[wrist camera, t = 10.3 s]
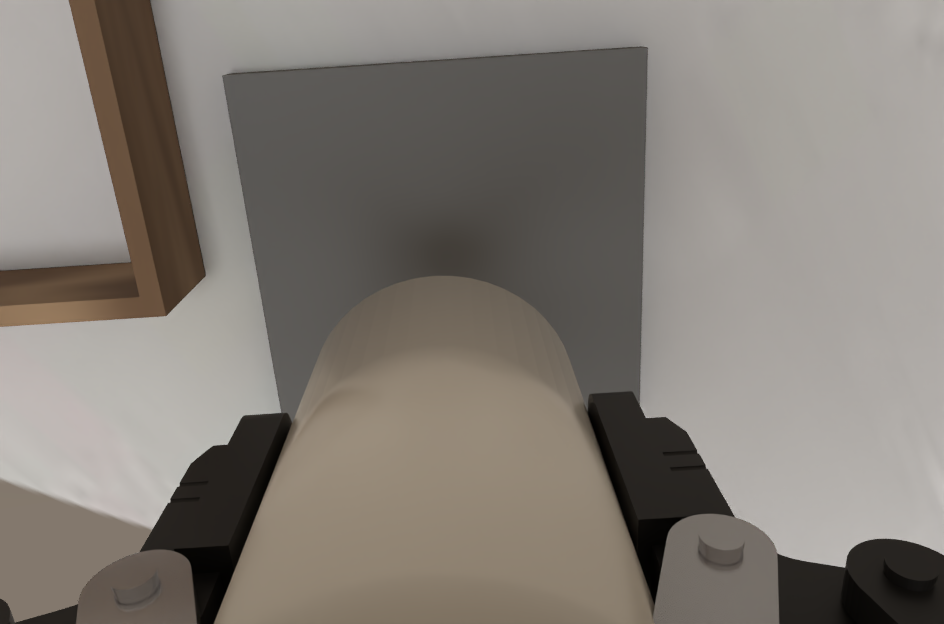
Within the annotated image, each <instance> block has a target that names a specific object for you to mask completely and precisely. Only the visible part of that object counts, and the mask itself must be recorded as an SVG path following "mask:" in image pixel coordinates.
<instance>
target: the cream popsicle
mask: <svg viewBox="0 0 944 624" xmlns="http://www.w3.org/2000/svg"><path fill="white" fill-rule="evenodd" d="M654 608H655V605H654V602H653V599H652V596H651V594H650V591H649V588H648V585H647V582H646V579H645V576H644V573H643V570H642V568H641V565H640V562H639V559H638V556H637V553H636V550H635V547H634V544H633V542H632V539H631V536H630V533H629V530H628V527H627V524H626V521H625V518H624V515H623V513H622V510H621V507H620V504H619V501H618V498H617V495H616V492H615V489H614V487H613V484H612V481H611V478H610V475H609V472H608V469H607V466H606V463H605V461H604V458H603V455H602V452H601V449H600V446H599V443H598V440H597V437H596V435H595V432H594V429H593V426H592V423H591V420H590V417H589V414H588V411H587V409H586V406H585V403H584V400H583V397H582V394H581V391H580V388H579V385H578V383H577V380H576V377H575V374H574V371H573V368H572V365H571V362H570V360H569V357H568V355H567V352H566V350H565V347H564V345H563V343H562V342H561V340H560V338H559V336H558V335H557V333H556V331H555V330H554V329H553V328H552V326H551V325H550V324H549V323H548V321H547V320H546V319H545V318H544V317H543V316H542V315H541V314H540V313H539V312H538V311H537V310H536V309H535V308H534V307H532V306H531V305H530V304H528V303H527V302H525V301H524V300H523V299H521V298H520V297H518V296H516V295H515V294H513V293H511V292H509V291H507V290H505V289H503V288H501V287H498V286H496V285H493V284H490V283H488V282H484V281H480V280H476V279H472V278H466V277H457V276H429V277H421V278H415V279H411V280H407V281H403V282H399V283H396V284H394V285H391V286H389V287H386V288H384V289H381V290H379V291H378V292H376V293H374V294H372V295H370V296H369V297H367V298H365V299H364V300H363V301H361V302H360V303H359V304H357V305H356V306H355V307H353V308H352V309H351V310H350V311H349V312H348V313H347V314H346V315H345V316H344V317H343V318H342V319H341V320H340V321H339V322H338V324H337V325H336V326H335V327H334V329H333V330H332V331H331V333H330V334H329V336H328V338H327V340H326V341H325V343H324V345H323V347H322V349H321V351H320V354H319V357H318V359H317V362H316V364H315V367H314V369H313V372H312V374H311V377H310V379H309V382H308V385H307V387H306V390H305V392H304V395H303V397H302V400H301V402H300V405H299V408H298V410H297V413H296V415H295V418H294V420H293V423H292V425H291V428H290V431H289V433H288V436H287V438H286V441H285V443H284V446H283V448H282V451H281V453H280V456H279V459H278V461H277V464H276V466H275V469H274V471H273V474H272V476H271V479H270V482H269V484H268V487H267V489H266V492H265V494H264V497H263V499H262V502H261V505H260V507H259V510H258V512H257V515H256V517H255V520H254V522H253V525H252V527H251V530H250V533H249V535H248V538H247V540H246V543H245V545H244V548H243V550H242V553H241V556H240V558H239V561H238V563H237V566H236V568H235V571H234V573H233V576H232V578H231V581H230V584H229V586H228V589H227V591H226V594H225V596H224V599H223V601H222V604H221V607H220V609H219V612H218V614H217V617H216V619H215V622H214V624H655V623H654V620H653V614H654Z"/></svg>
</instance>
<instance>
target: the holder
mask: <svg viewBox="0 0 944 624" xmlns="http://www.w3.org/2000/svg"><path fill="white" fill-rule="evenodd" d="M69 3H70V7H71V12H72V16H73V20H74V24H75V28H76V33H77V37H78V41H79V45H80V49H81V53H82V58H83V62H84V66H85V70H86V74H87V79H88V83H89V87H90V91H91V95H92V99H93V104H94V108H95V112H96V116H97V120H98V125H99V129H100V133H101V137H102V141H103V145H104V150H105V154H106V158H107V162H108V166H109V171H110V175H111V179H112V183H113V187H114V191H115V196H116V200H117V204H118V208H119V212H120V217H121V221H122V225H123V229H124V233H125V238H126V242H127V246H128V250H129V254H130V258H131V263H117V264H101V265H86V266H70V267H55V268H40V269H24V270H9V271H0V327H3V326H19V325H34V324H50V323H65V322H81V321H97V320H112V319H128V318H143V317H159V316H167V315H168V314H169V313H170V312H171V310H172V309H173V308H174V307H175V306H176V305H177V304H178V303H179V302H180V301H181V300H182V299H183V298H184V297H185V296H186V295H187V294H188V293H189V292H190V291H191V290H192V289H193V288H194V287H195V286H196V285H197V284H198V283H199V282H200V281H201V280H202V279H203V278H204V277H205V271H204V266H203V261H202V256H201V251H200V246H199V241H198V236H197V231H196V227H195V222H194V217H193V212H192V207H191V202H190V197H189V192H188V187H187V182H186V177H185V172H184V167H183V162H182V157H181V152H180V148H179V143H178V138H177V133H176V128H175V123H174V118H173V113H172V108H171V103H170V98H169V93H168V88H167V83H166V78H165V73H164V68H163V64H162V59H161V54H160V49H159V44H158V39H157V34H156V29H155V24H154V19H153V14H152V9H151V4H150V0H69Z"/></svg>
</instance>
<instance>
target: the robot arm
mask: <svg viewBox="0 0 944 624" xmlns="http://www.w3.org/2000/svg"><path fill="white" fill-rule="evenodd" d="M588 414H589V417H590V420H591V423H592V426H593V429H594V432H595V435H596V437H597V440H598V443H599V446H600V449H601V452H602V455H603V458H604V461H605V463H606V466H607V469H608V472H609V475H610V478H611V481H612V484H613V487H614V489H615V492H616V495H617V498H618V501H619V504H620V507H621V510H622V513H623V515H624V518H625V521H626V524H627V527H628V530H629V533H630V536H631V539H632V542H633V544H634V547H635V550H636V553H637V556H638V559H639V562H640V565H641V568H642V570H643V573H644V576H645V579H646V582H647V585H648V588H649V591H650V594H651V596H652V599H653V602H654V605H655V608H654V614H653V620H654V623H655V624H944V555H942V554H940V553H938V552H936V551H934V550H932V549H930V548H927V547H924V546H922V545H919V544H915V543H911V542H908V541H902V540H896V539H875V540H869V541H865V542H862V543H860V544H858V545H856V546H855V547H854V548H853V549H851V550H850V552H849V554H848V556H847V561H846V567H845V568H843V567H837V566H830V565H824V564H818V563H811V562H805V561H800V560H795V559H792V558H788V557H785V556H782V555H780V554H777V550H776V548H775V545H774V543H773V542H772V541H771V539H770V538H769V537H768V536H767V535H766V534H765V533H764V532H763V531H761V530H760V529H759V528H757V527H756V526H754V525H752V524H750V523H748V522H746V521H744V520H741V519H738V518H735V516H734V515H733V513H732V511H731V509H730V508H729V506H728V504H727V502H726V500H725V499H724V497H723V495H722V493H721V492H720V490H719V488H718V486H717V485H716V483H715V481H714V479H713V478H712V476H711V474H710V472H709V471H708V469H706V467H705V463H704V462H703V460H702V458H701V456H700V455H699V454H697V449H696V448H695V446H694V444H693V442H692V441H691V439H690V437H689V435H688V434H687V432H686V431H684V430H683V429H682V428H680V427H679V426H677V425H676V424H675V423H673V422H672V421H670V420H669V419H668V418H666V417H659V418H645V416H644V414H643V411H642V409H641V407H640V405H639V403H638V401H637V399H636V397H635V395H634V393H633V392H632V391H625V392H609V393H594V394H589V397H588ZM291 425H292V421H291V418H290V416H289V414H288V413H275V414H260V415H245V416H243V417H242V419H241V420H240V422H239V424H238V426H237V428H236V430H235V432H234V434H233V436H232V438H231V439H230V441H229V443H228V445H217V446H212V447H211V448H210V449H208V450H207V451H206V452H205V453H204V454H202V455H201V456H200V457H199V458H197V459H196V460H195V461H194V462H192V463H191V465H190V466H189V468H188V470H187V471H186V473H185V475H184V477H183V478H182V480H181V482H180V487H177V489H176V490H175V492H174V494H173V495H172V497H171V499H170V500H171V502H170V503H168V504H167V506H166V508H165V509H164V511H163V513H162V514H161V516H160V518H159V520H158V521H157V523H156V525H155V526H154V528H153V530H152V532H151V533H150V535H149V537H148V538H147V540H146V542H145V544H144V545H143V547H142V549H141V551H140V552H139V553H135V554H133V555H129V556H126V557H124V558H122V559H119V560H117V561H115V562H113V563H112V564H110V565H108V566H107V567H105V568H104V569H102V570H101V571H99V572H98V573H97V574H96V575H95V576H94V577H93V578H92V579H91V580H90V581H89V582H88V583H87V584H86V586H85V587H84V588H83V590H82V592H81V594H80V597H79V601H78V604H77V605H75V606H72V607H69V608H65V609H62V610H59V611H55V612H52V613H48V614H45V615H41V616H37V617H34V618H30V619H27V620H23V621H20V622H16V623H15V622H14V619H13V616H12V614H11V611H10V608H9V606H8V604H7V603H6V602H5V601H3V600H2V599H0V624H214V622H215V619H216V617H217V614H218V612H219V609H220V607H221V604H222V601H223V599H224V596H225V594H226V591H227V589H228V586H229V584H230V581H231V578H232V576H233V573H234V571H235V568H236V566H237V563H238V561H239V558H240V556H241V553H242V550H243V548H244V545H245V543H246V540H247V538H248V535H249V533H250V530H251V527H252V525H253V522H254V520H255V517H256V515H257V512H258V510H259V507H260V505H261V502H262V499H263V497H264V494H265V492H266V489H267V487H268V484H269V482H270V479H271V476H272V474H273V471H274V469H275V466H276V464H277V461H278V459H279V456H280V453H281V451H282V448H283V446H284V443H285V441H286V438H287V436H288V433H289V431H290V428H291Z"/></svg>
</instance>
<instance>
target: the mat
mask: <svg viewBox="0 0 944 624" xmlns="http://www.w3.org/2000/svg"><path fill="white" fill-rule="evenodd" d="M647 57H648V48H647V47H628V48H612V49H597V50H582V51H567V52H552V53H537V54H521V55H506V56H491V57H476V58H461V59H445V60H430V61H415V62H400V63H385V64H370V65H354V66H339V67H324V68H309V69H294V70H278V71H263V72H248V73H233V74H227V75H223V76H222V77H223V83H224V88H225V94H226V100H227V105H228V111H229V117H230V122H231V128H232V134H233V139H234V145H235V151H236V157H237V162H238V168H239V174H240V179H241V185H242V191H243V196H244V202H245V208H246V213H247V219H248V225H249V231H250V236H251V242H252V248H253V253H254V259H255V265H256V270H257V276H258V282H259V287H260V293H261V299H262V305H263V310H264V316H265V322H266V327H267V333H268V339H269V344H270V350H271V356H272V361H273V367H274V373H275V379H276V384H277V390H278V396H279V401H280V407H281V413H288V414H289V416H290V418H291V421H292V423H293V420H294V418H295V415H296V413H297V410H298V408H299V405H300V402H301V400H302V397H303V395H304V392H305V390H306V387H307V385H308V382H309V379H310V377H311V374H312V372H313V369H314V367H315V364H316V362H317V359H318V357H319V354H320V351H321V349H322V347H323V345H324V343H325V341H326V340H327V338H328V336H329V334H330V333H331V331H332V330H333V329H334V327H335V326H336V325H337V324H338V322H339V321H340V320H341V319H342V318H343V317H344V316H345V315H346V314H347V313H348V312H349V311H350V310H351V309H352V308H353V307H355V306H356V305H357V304H359V303H360V302H361V301H363V300H364V299H365V298H367V297H369V296H370V295H372V294H374V293H376V292H378V291H379V290H381V289H384V288H386V287H389V286H391V285H394V284H396V283H399V282H403V281H407V280H411V279H415V278H421V277H429V276H457V277H466V278H472V279H476V280H480V281H484V282H488V283H490V284H493V285H496V286H498V287H501V288H503V289H505V290H507V291H509V292H511V293H513V294H515V295H516V296H518V297H520V298H521V299H523V300H524V301H525V302H527V303H528V304H530V305H531V306H532V307H534V308H535V309H536V310H537V311H538V312H539V313H540V314H541V315H542V316H543V317H544V318H545V319H546V320H547V321H548V323H549V324H550V325H551V326H552V328H553V329H554V330H555V331H556V333H557V335H558V336H559V338H560V340H561V342H562V343H563V345H564V347H565V350H566V352H567V355H568V357H569V360H570V362H571V365H572V368H573V371H574V374H575V377H576V380H577V383H578V385H579V388H580V391H581V394H582V397H583V400H584V403H585V406H586V409H587V411H588V397H589V394H594V393H609V392H625V391H632V392H633V393H634V395H635V397H636V399H637V401H638V403H640V360H641V317H642V273H643V230H644V187H645V144H646V100H647Z"/></svg>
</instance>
